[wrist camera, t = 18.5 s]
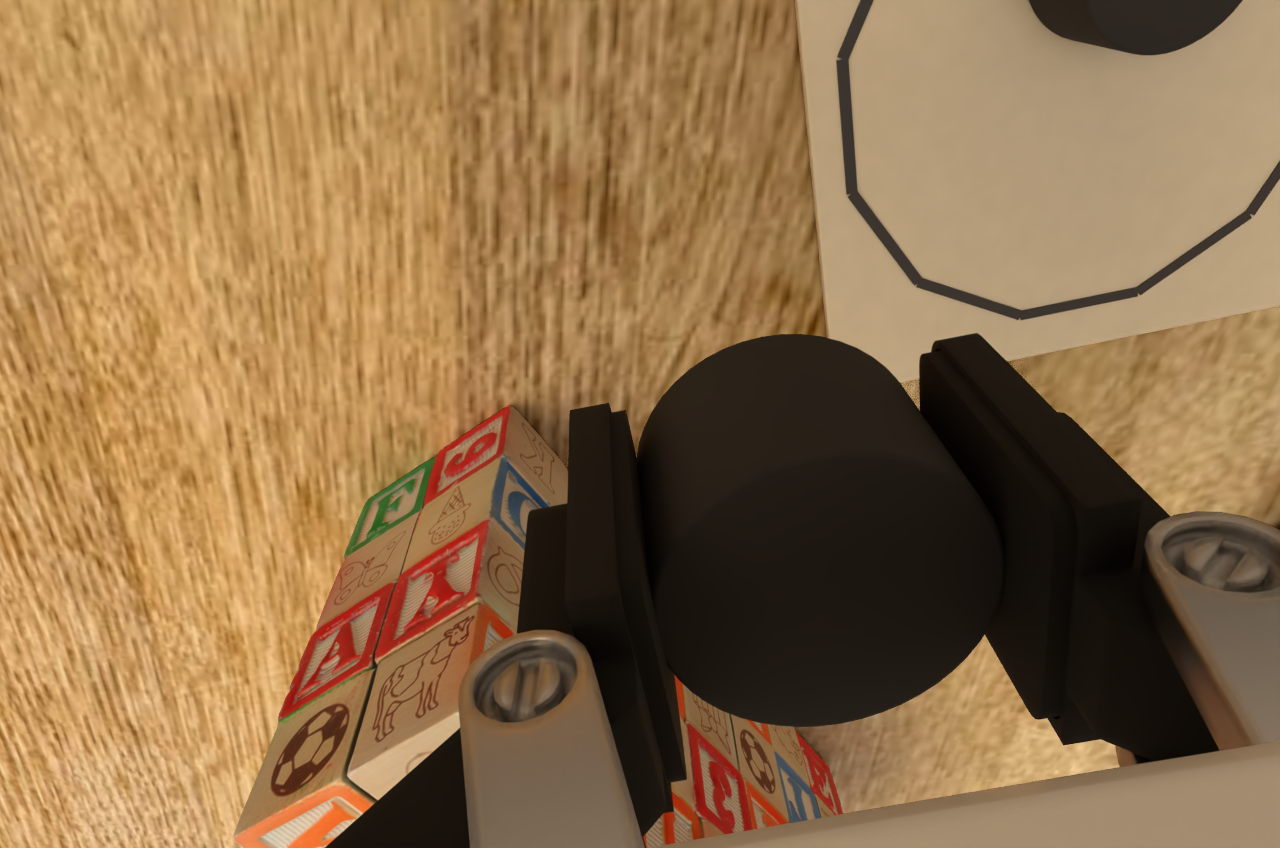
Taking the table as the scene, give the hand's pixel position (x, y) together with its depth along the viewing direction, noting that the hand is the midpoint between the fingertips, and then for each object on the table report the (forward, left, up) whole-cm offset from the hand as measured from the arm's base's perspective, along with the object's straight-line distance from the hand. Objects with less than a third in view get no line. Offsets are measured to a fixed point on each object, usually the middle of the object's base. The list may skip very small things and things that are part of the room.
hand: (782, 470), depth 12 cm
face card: (-1, +11, -14) cm, 18 cm away
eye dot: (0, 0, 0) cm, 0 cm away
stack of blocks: (+16, -5, -14) cm, 22 cm away
